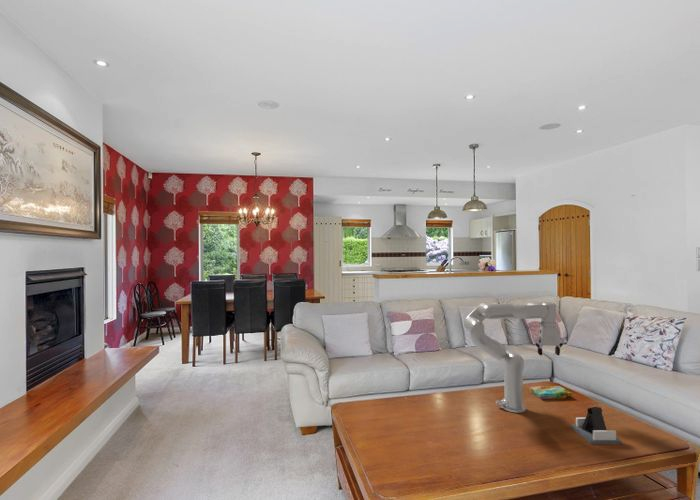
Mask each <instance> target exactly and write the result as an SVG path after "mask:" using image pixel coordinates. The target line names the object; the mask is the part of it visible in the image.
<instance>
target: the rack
mask: <svg viewBox="0 0 700 500" xmlns="http://www.w3.org/2000/svg"><path fill="white" fill-rule="evenodd" d="M585 419H586V417H575V424H570V428H571V429H572V430H573V431H574V432H575V433H577V435H579V436H581V438H583V439H584V440H585V441H586V442H588V443H589V444H590V445H622V440H621V439H620V438H618V437H617V431H616V430H614V429H613V430H612V429H611V430H610V429H609V430H593V434H591V433H589V432H587V431H585V430H583V429H582V426H583V424H584V421H585Z"/></svg>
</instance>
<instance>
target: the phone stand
mask: <svg viewBox="0 0 700 500" xmlns="http://www.w3.org/2000/svg"><path fill="white" fill-rule="evenodd" d="M586 412H587V413H586V416H585V418H586V419H585V421H584V424H583V426H582V429H583V430H585V431H587V432H589V433H591V434H593V430H607V427H606V422H605V419H604V416H603V409H602V408H601V407H600V406H597V405H596V406H592V407H589V408H587V410H586Z"/></svg>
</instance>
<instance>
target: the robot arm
mask: <svg viewBox="0 0 700 500" xmlns="http://www.w3.org/2000/svg"><path fill="white" fill-rule="evenodd" d="M486 319H487V320H501V319H502V320H503V319H506V320H507V319H519V320H520V319H521V320H522V319H524V320H525V319H526V320H527V319H528V320H529V319H530V320H531V319H540V320H541V321H540V322H538V325H539V332H538V337H535V338H534V339H532V341H533V343H534V346H536V348H537V354H538V355H539V356H543V346H549V347H550V346H551V347H553V346H555V351H554V354H555V355H557V356H560V354H561V347H563V345H564V344H565V341H566V340H565V339H562V338H561V337H560V331H559V327H557V304H556V303H554V302H548V301H547V302H539V301H537V302H536V301H530V302H528V303H526V304H519V303H512V302H511V303H510V302H506V303H503V302H502V303H488V302H481V303H480V304H478V305H477V306H476V307H475V308H474V309H473V310H472V311H471V312H470V313H469V314H467V316H466V317H465V319H464V321H463V326H464V329H466V330H467V331H469V333H470V335H469V336H470V340H471V343H472V344H473V345H474V346H475V347H477V348H478V349H480V350H481V351H482V352H484V353H486V354H487V355H488V356H490V357H491V358H493V359H495V360H497V361H498V362H500V363H502V364H503V365H505V369H504V376H503V377H504V378H503V380H504V385H503V386H504V387H503V388H504V389H503V390H504V394H503V395H504V397H503V398H502V399H501V400H498V399H497V400H495V405H499V406H501V409H503V410H505V411H507V412H511V413H514V414H515V413H517V414H518V413H519V414H520V413H525V412H526V410H527V407H526V406H525V405H524V403H523V402H524V401H523V400H524V395H523V393H524V389H523V387H524V386H523V385H524V382H523V381H524V380H523V379H524V378H523V377H524V376H523V374H524V369H525V361H524V358H523V356H521V355H520V354H519V353H517V352H516V351H514V350H513V349H511V348H509V347H508V346H506V345H504V344H503V343H501V342H500V341H498V340H497V339H493V338H491V337H490V336H489V335H487V334H486V331H485V325H484V323H483V322H484V321H485V320H486Z"/></svg>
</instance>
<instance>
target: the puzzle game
mask: <svg viewBox="0 0 700 500" xmlns="http://www.w3.org/2000/svg"><path fill="white" fill-rule="evenodd" d="M529 390H530V392H531V394H533V395H534V396H536V397H537V398H539V399H540V400H556V399H557V400H558V399H561V400H562V399H566V397H570V396H573V392H571V391H569V390H567V389H565V388H564V387H562V386H560V385H547V386H543V385H539V386H529Z"/></svg>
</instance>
